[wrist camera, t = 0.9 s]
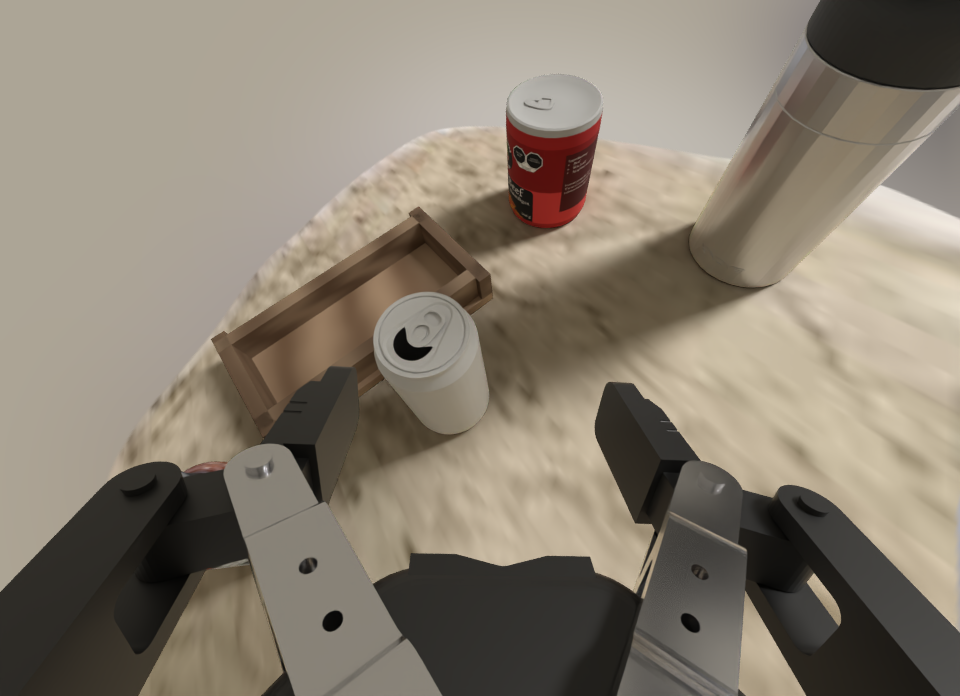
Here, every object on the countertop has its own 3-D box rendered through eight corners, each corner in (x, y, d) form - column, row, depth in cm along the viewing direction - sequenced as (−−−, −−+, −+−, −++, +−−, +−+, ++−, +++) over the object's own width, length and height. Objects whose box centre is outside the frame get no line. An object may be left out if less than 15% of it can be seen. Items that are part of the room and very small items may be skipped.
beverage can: (400, 407, 33) (343, 344, 22) (448, 351, 35) (416, 268, 24) (457, 452, 31) (425, 407, 20) (505, 390, 33) (498, 319, 22)
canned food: (506, 181, 44) (503, 77, 34) (578, 175, 43) (596, 67, 33) (510, 233, 40) (508, 135, 30) (589, 227, 40) (612, 125, 30)
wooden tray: (427, 233, 41) (418, 206, 38) (492, 298, 37) (490, 274, 34) (239, 357, 37) (210, 339, 33) (289, 448, 32) (262, 437, 29)
